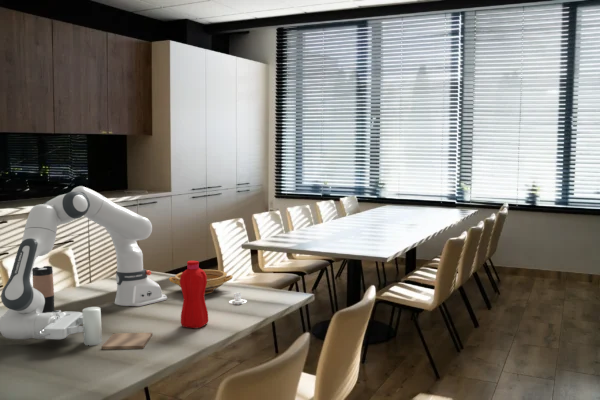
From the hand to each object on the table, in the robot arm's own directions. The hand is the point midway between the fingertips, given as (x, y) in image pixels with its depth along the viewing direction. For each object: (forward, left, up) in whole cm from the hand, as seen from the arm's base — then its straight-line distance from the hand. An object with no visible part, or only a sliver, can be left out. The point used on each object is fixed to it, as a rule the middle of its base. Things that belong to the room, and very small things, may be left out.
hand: (87, 324), depth 207 cm
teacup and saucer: (-66, -15, -7) cm, 68 cm away
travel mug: (+5, -44, -7) cm, 45 cm away
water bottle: (-39, +4, -7) cm, 40 cm away
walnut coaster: (-11, +8, -6) cm, 15 cm away
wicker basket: (-64, -42, -7) cm, 77 cm away
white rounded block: (-1, +1, -6) cm, 7 cm away
